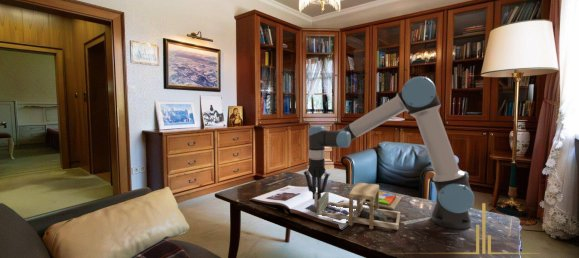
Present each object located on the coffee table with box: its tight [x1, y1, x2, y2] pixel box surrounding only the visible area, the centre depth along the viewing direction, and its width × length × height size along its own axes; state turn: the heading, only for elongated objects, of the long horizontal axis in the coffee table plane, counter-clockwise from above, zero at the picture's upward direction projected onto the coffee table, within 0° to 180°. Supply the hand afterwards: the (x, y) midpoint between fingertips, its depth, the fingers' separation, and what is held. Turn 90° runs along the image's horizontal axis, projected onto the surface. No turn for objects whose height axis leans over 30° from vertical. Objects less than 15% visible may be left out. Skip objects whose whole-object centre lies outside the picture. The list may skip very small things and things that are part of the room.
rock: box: [359, 209, 388, 222], centre depth 124 cm, size 9×11×6 cm
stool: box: [348, 182, 380, 230], centre depth 126 cm, size 10×18×14 cm, turn 155°
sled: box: [316, 191, 401, 230], centre depth 127 cm, size 35×15×7 cm, turn 65°
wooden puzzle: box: [360, 191, 403, 211], centre depth 149 cm, size 18×19×4 cm
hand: (316, 205), depth 136 cm, fingers closed
